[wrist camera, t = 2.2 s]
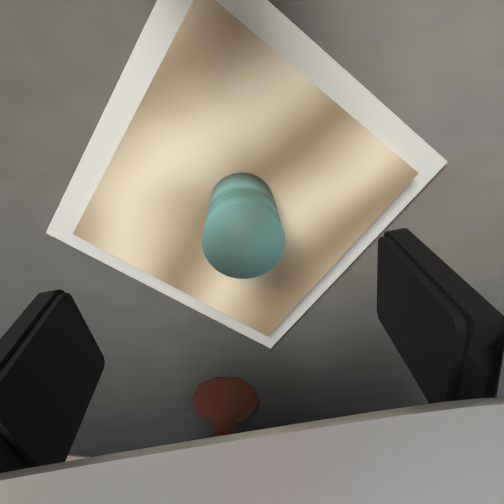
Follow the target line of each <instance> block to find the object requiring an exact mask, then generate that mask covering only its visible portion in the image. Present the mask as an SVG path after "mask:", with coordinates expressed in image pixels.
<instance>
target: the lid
mask: <svg viewBox="0 0 504 504" xmlns="http://www.w3.org/2000/svg"><path fill="white" fill-rule="evenodd" d="M418 174H419V173H418V172H417V171H416V170H415V169H413V168H412V167H411V166H410V165H409V164H408V163H406V162H405V161H404V160H403V159H402V158H400V157H399V156H398V155H397V154H396V153H395V152H393V151H392V150H391V149H390V148H389V147H388V146H386V145H385V144H384V143H383V142H382V141H380V140H379V139H378V138H377V137H376V136H375V135H373V134H372V133H371V132H370V131H369V130H368V129H366V128H365V127H364V126H363V125H362V124H360V123H359V122H358V121H357V120H356V119H355V118H353V117H352V116H351V115H350V114H349V113H348V112H346V111H345V110H344V109H343V108H342V107H340V106H339V105H338V104H337V103H336V102H335V101H333V100H332V99H331V98H330V97H329V96H328V95H326V94H325V93H324V92H323V91H322V90H320V89H319V88H318V87H317V86H316V85H315V84H313V83H312V82H311V81H310V80H309V79H308V78H306V77H305V76H304V75H303V74H302V73H300V72H299V71H298V70H297V69H296V68H295V67H293V66H292V65H291V64H290V63H289V62H288V61H286V60H285V59H284V58H283V57H282V56H280V55H279V54H278V53H277V52H276V51H275V50H273V49H272V48H271V47H270V46H269V45H267V44H266V43H265V42H264V41H263V40H262V39H260V38H259V37H258V36H257V35H256V34H255V33H253V32H252V31H251V30H250V29H249V28H247V27H246V26H245V25H244V24H243V23H242V22H240V21H239V20H238V19H237V18H236V17H235V16H233V15H232V14H231V13H230V12H229V11H227V10H226V9H225V8H224V7H223V6H222V5H220V4H219V3H218V2H217V1H216V0H193V2H192V4H191V6H190V8H189V10H188V12H187V14H186V15H185V17H184V19H183V21H182V23H181V25H180V27H179V29H178V31H177V33H176V35H175V37H174V39H173V41H172V43H171V44H170V46H169V48H168V50H167V52H166V54H165V56H164V58H163V60H162V62H161V64H160V66H159V68H158V70H157V72H156V74H155V75H154V77H153V79H152V81H151V83H150V85H149V87H148V89H147V91H146V93H145V95H144V97H143V99H142V101H141V103H140V104H139V106H138V108H137V110H136V112H135V114H134V116H133V118H132V120H131V122H130V124H129V126H128V128H127V130H126V132H125V134H124V135H123V137H122V139H121V141H120V143H119V145H118V147H117V149H116V151H115V153H114V155H113V157H112V159H111V161H110V163H109V164H108V166H107V168H106V170H105V172H104V174H103V176H102V178H101V180H100V182H99V184H98V186H97V188H96V190H95V192H94V194H93V195H92V197H91V199H90V201H89V203H88V205H87V207H86V209H85V211H84V213H83V215H82V217H81V219H80V221H79V223H78V224H77V226H76V228H75V230H74V232H73V234H74V235H76V236H78V237H79V238H81V239H83V240H85V241H87V242H89V243H91V244H93V245H95V246H97V247H98V248H100V249H102V250H104V251H106V252H108V253H110V254H112V255H114V256H116V257H117V258H119V259H121V260H123V261H125V262H127V263H129V264H131V265H133V266H135V267H136V268H138V269H140V270H142V271H144V272H146V273H148V274H150V275H152V276H154V277H155V278H157V279H159V280H161V281H163V282H165V283H167V284H169V285H171V286H173V287H174V288H176V289H178V290H180V291H182V292H184V293H186V294H188V295H190V296H192V297H193V298H195V299H197V300H199V301H201V302H203V303H205V304H207V305H209V306H211V307H212V308H214V309H216V310H218V311H220V312H222V313H224V314H226V315H228V316H230V317H231V318H233V319H235V320H237V321H239V322H241V323H243V324H245V325H247V326H249V327H250V328H252V329H254V330H256V331H258V332H260V333H262V334H264V335H266V336H269V334H270V333H271V332H272V331H273V330H274V329H275V328H276V327H277V326H278V325H279V324H280V323H281V321H282V320H283V319H284V318H285V317H286V316H287V315H288V314H289V313H290V312H291V311H292V310H293V309H294V307H295V306H296V305H297V304H298V303H299V302H300V301H301V300H302V299H303V298H304V297H305V296H306V294H307V293H308V292H309V291H310V290H311V289H312V288H313V287H314V286H315V285H316V284H317V283H318V282H319V280H320V279H321V278H322V277H323V276H324V275H325V274H326V273H327V272H328V271H329V270H330V269H331V267H332V266H333V265H334V264H335V263H336V262H337V261H338V260H339V259H340V258H341V257H342V256H343V255H344V253H345V252H346V251H347V250H348V249H349V248H350V247H351V246H352V245H353V244H354V243H355V242H356V240H357V239H358V238H359V237H360V236H361V235H362V234H363V233H364V232H365V231H366V230H367V229H368V228H369V226H370V225H371V224H372V223H373V222H374V221H375V220H376V219H377V218H378V217H379V216H380V215H381V213H382V212H383V211H384V210H385V209H386V208H387V207H388V206H389V205H390V204H391V203H392V202H393V201H394V199H395V198H396V197H397V196H398V195H399V194H400V193H401V192H402V191H403V190H404V189H405V188H406V186H407V185H408V184H409V183H410V182H411V181H412V180H413V179H414V178H415V177H416V176H417V175H418Z"/></svg>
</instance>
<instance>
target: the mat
mask: <svg viewBox="0 0 504 504" xmlns="http://www.w3.org/2000/svg"><path fill="white" fill-rule="evenodd" d="M216 1H217V2H218V3H219V4H220V5H222V6H223V7H224V8H225V9H226V10H227V11H229V12H230V13H231V14H232V15H233V16H235V17H236V18H237V19H238V20H239V21H240V22H242V23H243V24H244V25H245V26H246V27H247V28H249V29H250V30H251V31H252V32H253V33H255V34H256V35H257V36H258V37H259V38H260V39H262V40H263V41H264V42H265V43H266V44H267V45H269V46H270V47H271V48H272V49H273V50H275V51H276V52H277V53H278V54H279V55H280V56H282V57H283V58H284V59H285V60H286V61H288V62H289V63H290V64H291V65H292V66H293V67H295V68H296V69H297V70H298V71H299V72H300V73H302V74H303V75H304V76H305V77H306V78H308V79H309V80H310V81H311V82H312V83H313V84H315V85H316V86H317V87H318V88H319V89H320V90H322V91H323V92H324V93H325V94H326V95H328V96H329V97H330V98H331V99H332V100H333V101H335V102H336V103H337V104H338V105H339V106H340V107H342V108H343V109H344V110H345V111H346V112H348V113H349V114H350V115H351V116H352V117H353V118H355V119H356V120H357V121H358V122H359V123H360V124H362V125H363V126H364V127H365V128H366V129H368V130H369V131H370V132H371V133H372V134H373V135H375V136H376V137H377V138H378V139H379V140H380V141H382V142H383V143H384V144H385V145H386V146H388V147H389V148H390V149H391V150H392V151H393V152H395V153H396V154H397V155H398V156H399V157H400V158H402V159H403V160H404V161H405V162H406V163H408V164H409V165H410V166H411V167H412V168H413V169H415V170H416V171H417V172H418V173H419V174H418V175H417V176H416V177H415V178H414V179H413V180H412V181H411V182H410V183H409V184H408V185H407V186H406V188H405V189H404V190H403V191H402V192H401V193H400V194H399V195H398V196H397V197H396V198H395V199H394V201H393V202H392V203H391V204H390V205H389V206H388V207H387V208H386V209H385V210H384V211H383V212H382V213H381V215H380V216H379V217H378V218H377V219H376V220H375V221H374V222H373V223H372V224H371V225H370V226H369V228H368V229H367V230H366V231H365V232H364V233H363V234H362V235H361V236H360V237H359V238H358V239H357V240H356V242H355V243H354V244H353V245H352V246H351V247H350V248H349V249H348V250H347V251H346V252H345V253H344V255H343V256H342V257H341V258H340V259H339V260H338V261H337V262H336V263H335V264H334V265H333V266H332V267H331V269H330V270H329V271H328V272H327V273H326V274H325V275H324V276H323V277H322V278H321V279H320V280H319V282H318V283H317V284H316V285H315V286H314V287H313V288H312V289H311V290H310V291H309V292H308V293H307V294H306V296H305V297H304V298H303V299H302V300H301V301H300V302H299V303H298V304H297V305H296V306H295V307H294V309H293V310H292V311H291V312H290V313H289V314H288V315H287V316H286V317H285V318H284V319H283V320H282V321H281V323H280V324H279V325H278V326H277V327H276V328H275V329H274V330H273V331H272V332H271V333H270V334H269V336H266V335H264V334H262V333H260V332H258V331H256V330H254V329H252V328H250V327H249V326H247V325H245V324H243V323H241V322H239V321H237V320H235V319H233V318H231V317H230V316H228V315H226V314H224V313H222V312H220V311H218V310H216V309H214V308H212V307H211V306H209V305H207V304H205V303H203V302H201V301H199V300H197V299H195V298H193V297H192V296H190V295H188V294H186V293H184V292H182V291H180V290H178V289H176V288H174V287H173V286H171V285H169V284H167V283H165V282H163V281H161V280H159V279H157V278H155V277H154V276H152V275H150V274H148V273H146V272H144V271H142V270H140V269H138V268H136V267H135V266H133V265H131V264H129V263H127V262H125V261H123V260H121V259H119V258H117V257H116V256H114V255H112V254H110V253H108V252H106V251H104V250H102V249H100V248H98V247H97V246H95V245H93V244H91V243H89V242H87V241H85V240H83V239H81V238H79V237H78V236H76V235H74V234H73V232H74V230H75V228H76V226H77V224H78V223H79V221H80V219H81V217H82V215H83V213H84V211H85V209H86V207H87V205H88V203H89V201H90V199H91V197H92V195H93V194H94V192H95V190H96V188H97V186H98V184H99V182H100V180H101V178H102V176H103V174H104V172H105V170H106V168H107V166H108V164H109V163H110V161H111V159H112V157H113V155H114V153H115V151H116V149H117V147H118V145H119V143H120V141H121V139H122V137H123V135H124V134H125V132H126V130H127V128H128V126H129V124H130V122H131V120H132V118H133V116H134V114H135V112H136V110H137V108H138V106H139V104H140V103H141V101H142V99H143V97H144V95H145V93H146V91H147V89H148V87H149V85H150V83H151V81H152V79H153V77H154V75H155V74H156V72H157V70H158V68H159V66H160V64H161V62H162V60H163V58H164V56H165V54H166V52H167V50H168V48H169V46H170V44H171V43H172V41H173V39H174V37H175V35H176V33H177V31H178V29H179V27H180V25H181V23H182V21H183V19H184V17H185V15H186V14H187V12H188V10H189V8H190V6H191V4H192V2H193V0H157V2H156V4H155V6H154V8H153V10H152V12H151V14H150V16H149V18H148V20H147V22H146V25H145V27H144V29H143V31H142V33H141V35H140V37H139V39H138V41H137V43H136V45H135V48H134V50H133V52H132V54H131V56H130V58H129V60H128V62H127V64H126V66H125V68H124V71H123V73H122V75H121V77H120V79H119V81H118V83H117V85H116V87H115V89H114V91H113V94H112V96H111V98H110V100H109V102H108V104H107V106H106V108H105V110H104V112H103V114H102V117H101V119H100V121H99V123H98V125H97V127H96V129H95V131H94V133H93V135H92V137H91V140H90V142H89V144H88V146H87V148H86V150H85V152H84V154H83V156H82V158H81V160H80V163H79V165H78V167H77V169H76V171H75V173H74V175H73V177H72V179H71V181H70V183H69V186H68V188H67V190H66V192H65V194H64V196H63V198H62V200H61V202H60V204H59V206H58V209H57V211H56V213H55V215H54V217H53V219H52V221H51V223H50V225H49V227H48V229H47V232H46V233H47V234H49V235H51V236H53V237H55V238H57V239H59V240H61V241H63V242H64V243H66V244H68V245H70V246H72V247H74V248H76V249H78V250H80V251H82V252H84V253H86V254H88V255H90V256H92V257H94V258H96V259H98V260H99V261H101V262H103V263H105V264H107V265H109V266H111V267H113V268H115V269H117V270H119V271H121V272H123V273H125V274H127V275H129V276H131V277H132V278H134V279H136V280H138V281H140V282H142V283H144V284H146V285H148V286H150V287H152V288H154V289H156V290H158V291H160V292H162V293H164V294H166V295H167V296H169V297H171V298H173V299H175V300H177V301H179V302H181V303H183V304H185V305H187V306H189V307H191V308H193V309H195V310H197V311H199V312H201V313H202V314H204V315H206V316H208V317H210V318H212V319H214V320H216V321H218V322H220V323H222V324H224V325H226V326H228V327H230V328H232V329H234V330H235V331H237V332H239V333H241V334H243V335H245V336H247V337H249V338H251V339H253V340H255V341H257V342H259V343H261V344H263V345H265V346H267V347H269V348H270V349H271V348H272V347H273V345H274V344H275V343H276V342H277V341H278V340H279V339H280V338H281V337H282V336H283V335H284V334H285V333H286V332H287V331H288V330H289V329H290V328H291V327H292V325H293V324H294V323H295V322H296V321H297V320H298V319H299V318H300V317H301V316H302V315H303V314H304V313H305V312H306V311H307V310H308V309H309V308H310V307H311V305H312V304H313V303H314V302H315V301H316V300H317V299H318V298H319V297H320V296H321V295H322V294H323V293H324V292H325V291H326V290H327V289H328V288H329V287H330V285H331V284H332V283H333V282H334V281H335V280H336V279H337V278H338V277H339V276H340V275H341V274H342V273H343V272H344V271H345V270H346V269H347V268H348V267H349V265H350V264H351V263H352V262H353V261H354V260H355V259H356V258H357V257H358V256H359V255H360V254H361V253H362V252H363V251H364V250H365V249H366V248H367V247H368V245H369V244H370V243H371V242H372V241H373V240H374V239H375V238H376V237H377V236H378V235H379V234H380V233H381V232H382V231H383V230H384V229H385V228H386V227H387V225H388V224H389V223H390V222H391V221H392V220H393V219H394V218H395V217H396V216H397V215H398V214H399V213H400V212H401V211H402V210H403V209H404V208H405V207H406V205H407V204H408V203H409V202H410V201H411V200H412V199H413V198H414V197H415V196H416V195H417V194H418V193H419V192H420V191H421V190H422V189H423V188H424V187H425V185H426V184H427V183H428V182H429V181H430V180H431V179H432V178H433V177H434V176H435V175H436V174H437V173H438V172H439V171H440V170H441V169H442V168H443V167H444V165H445V164H446V163H447V161H446V160H445V159H444V158H443V157H442V156H440V155H439V154H438V153H437V152H436V151H435V150H434V149H433V148H432V147H430V146H429V145H428V144H427V143H426V142H425V141H424V140H423V139H422V138H420V137H419V136H418V135H417V134H416V133H415V132H414V131H413V130H411V129H410V128H409V127H408V126H407V125H406V124H405V123H404V122H403V121H401V120H400V119H399V118H398V117H397V116H396V115H395V114H394V113H393V112H391V111H390V110H389V109H388V108H387V107H386V106H385V105H384V104H383V103H381V102H380V101H379V100H378V99H377V98H376V97H375V96H374V95H373V94H371V93H370V92H369V91H368V90H367V89H366V88H365V87H364V86H363V85H361V84H360V83H359V82H358V81H357V80H356V79H355V78H354V77H353V76H351V75H350V74H349V73H348V72H347V71H346V70H345V69H344V68H343V67H341V66H340V65H339V64H338V63H337V62H336V61H335V60H334V59H333V58H331V57H330V56H329V55H328V54H327V53H326V52H325V51H324V50H322V49H321V48H320V47H319V46H318V45H317V44H316V43H315V42H314V41H312V40H311V39H310V38H309V37H308V36H307V35H306V34H305V33H304V32H302V31H301V30H300V29H299V28H298V27H297V26H296V25H295V24H294V23H292V22H291V21H290V20H289V19H288V18H287V17H286V16H285V15H284V14H282V13H281V12H280V11H279V10H278V9H277V8H276V7H275V6H274V5H272V4H271V3H270V2H269V1H268V0H216Z"/></svg>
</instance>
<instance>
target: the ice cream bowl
mask: <svg viewBox="0 0 504 504" xmlns="http://www.w3.org/2000/svg"><path fill="white" fill-rule="evenodd" d="M192 400H193V404H194V407H195V409H196V412H197V414H198V416H199V417H200V418H202V419H204V420H206V421H208V422H210V423H211V424H213V435H211V436H209V437H206V438H211V437H218V436H224V435H230V434H235V426H236V423H239V422H241V421H244V420H246V419H248V418H249V417H250V415H251V414H252V412H253V411H254V410H255V408H256V406H257V403H258V400H257V396H256V392H255V388H254V387H252V386H251V385H249V384H248V383H246V382H244V381H243V380H241V379H240V378H230V377H216V378H214V379H211V380H209V381H207V382H204V383H202V384H200V385H199V386H198V388H197V390H196V392H195V393H194V395H193V397H192ZM203 439H205V438H203Z"/></svg>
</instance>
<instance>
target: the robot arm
mask: <svg viewBox="0 0 504 504" xmlns="http://www.w3.org/2000/svg"><path fill="white" fill-rule="evenodd" d="M377 313H378V317H379V320H380V322H381V323H382V325H383V327H384V328H385V330H386V332H387V333H388V335H389V337H390V338H391V340H392V342H393V343H394V345H395V347H396V348H397V350H398V352H399V353H400V355H401V357H402V358H403V360H404V362H405V364H406V365H407V367H408V369H409V370H410V372H411V374H412V375H413V377H414V379H415V380H416V382H417V384H418V385H419V387H420V389H421V390H422V392H423V394H424V395H425V397H426V399H427V400H428V402H429V404H425V405H418V406H411V407H404V408H396V409H389V410H382V411H375V412H368V413H362V414H356V415H349V416H343V417H337V418H330V419H324V420H318V421H311V422H305V423H299V424H292V425H286V426H280V427H273V428H267V429H261V430H254V431H248V432H242V433H236V434H230V435H224V436H218V437H211V438H205V439H199V440H193V441H187V442H181V443H175V444H169V445H163V446H156V447H150V448H144V449H138V450H132V451H126V452H120V453H114V454H108V455H103V456H97V457H91V458H85V459H79V460H73V461H67V462H65V461H66V458H67V456H68V454H69V451H70V449H71V446H72V444H73V441H74V439H75V437H76V434H77V432H78V429H79V427H80V424H81V422H82V420H83V417H84V415H85V412H86V410H87V408H88V405H89V403H90V400H91V398H92V395H93V393H94V391H95V388H96V386H97V383H98V381H99V378H100V376H101V374H102V371H103V369H104V364H105V362H104V357H103V354H102V352H101V351H100V349H99V347H98V345H97V343H96V341H95V339H94V337H93V335H92V334H91V332H90V330H89V328H88V326H87V324H86V322H85V320H84V319H83V317H82V315H81V313H80V311H79V309H78V307H77V305H76V303H75V302H74V300H73V298H72V296H71V295H70V294H69V293H65V292H64V291H63V290H60V289H59V290H54V291H48V292H42V293H39V294H38V295H37V296H36V297H35V298H34V300H33V301H32V302H31V303H30V304H29V306H28V307H27V308H26V309H25V310H24V312H23V313H22V314H21V315H20V316H19V318H18V319H17V320H16V321H15V322H14V324H13V325H12V326H11V327H10V328H9V329H8V331H7V332H6V333H5V334H4V335H3V337H2V338H1V339H0V504H504V316H503V315H502V314H501V313H500V312H499V311H498V310H496V309H495V308H494V307H493V306H492V305H491V304H490V303H489V302H488V301H487V300H485V299H484V298H483V297H482V296H481V295H480V294H479V293H478V292H477V291H475V290H474V289H473V288H472V287H471V286H470V285H469V284H468V283H467V282H466V281H464V280H463V279H462V278H461V277H460V276H459V275H458V274H457V273H456V272H454V271H453V270H452V269H451V268H450V267H449V266H448V265H447V264H446V263H445V262H443V261H442V260H441V259H440V258H439V257H438V256H437V255H436V254H435V253H433V252H432V251H431V250H430V249H429V248H428V247H427V246H426V245H425V244H424V243H422V242H421V241H420V240H419V239H418V238H417V237H416V236H415V235H414V234H413V233H411V232H410V231H409V230H408V229H406V228H403V229H397V230H392V231H386V232H385V233H384V237H380V238H379V240H378V271H377Z"/></svg>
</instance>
